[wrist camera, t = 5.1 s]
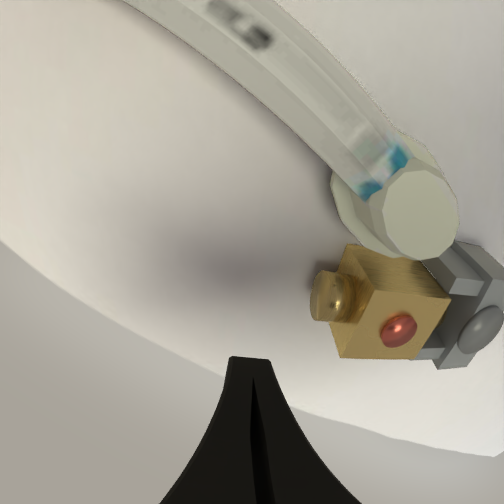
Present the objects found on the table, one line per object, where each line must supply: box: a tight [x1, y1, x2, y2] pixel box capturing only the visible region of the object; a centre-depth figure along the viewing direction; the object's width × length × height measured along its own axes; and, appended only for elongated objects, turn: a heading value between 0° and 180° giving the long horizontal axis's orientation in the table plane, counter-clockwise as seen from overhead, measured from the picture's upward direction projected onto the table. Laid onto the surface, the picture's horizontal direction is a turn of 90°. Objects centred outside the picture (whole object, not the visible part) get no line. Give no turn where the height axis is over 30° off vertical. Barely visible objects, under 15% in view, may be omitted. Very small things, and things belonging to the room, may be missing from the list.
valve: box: [310, 243, 451, 359], centre depth 16 cm, size 8×4×5 cm, turn 79°
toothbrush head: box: [122, 0, 459, 260], centre depth 10 cm, size 5×7×25 cm
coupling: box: [409, 241, 504, 370], centre depth 17 cm, size 6×7×5 cm
